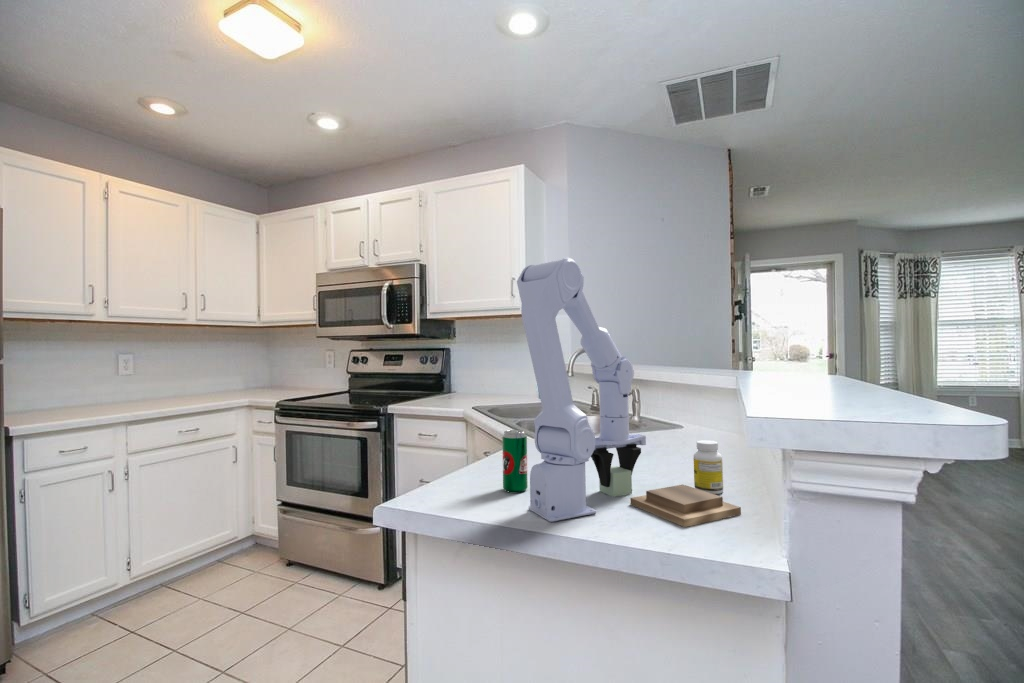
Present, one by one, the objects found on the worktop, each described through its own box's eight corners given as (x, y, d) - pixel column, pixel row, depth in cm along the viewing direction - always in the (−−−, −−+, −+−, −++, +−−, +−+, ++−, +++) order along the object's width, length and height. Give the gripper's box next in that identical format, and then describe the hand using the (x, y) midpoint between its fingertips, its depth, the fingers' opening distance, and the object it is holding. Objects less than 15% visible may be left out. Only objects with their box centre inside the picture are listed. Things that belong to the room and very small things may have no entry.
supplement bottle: (698, 485, 98) (696, 438, 98) (726, 489, 95) (724, 441, 95) (691, 492, 94) (690, 442, 94) (720, 496, 91) (719, 445, 91)
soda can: (525, 494, 94) (524, 433, 94) (500, 493, 95) (499, 433, 95) (529, 487, 99) (528, 429, 99) (505, 486, 100) (505, 429, 100)
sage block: (613, 496, 91) (613, 473, 91) (599, 491, 95) (599, 468, 95) (631, 493, 93) (631, 470, 93) (617, 488, 97) (616, 466, 97)
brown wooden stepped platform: (684, 527, 75) (684, 510, 75) (630, 504, 86) (630, 489, 86) (740, 514, 80) (740, 498, 80) (682, 494, 92) (682, 480, 92)
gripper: (629, 411, 101) (630, 475, 101) (572, 416, 95) (573, 483, 95) (652, 415, 95) (653, 482, 95) (593, 420, 89) (594, 492, 88)
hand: (615, 484), depth 94 cm, fingers closed on sage block, 4 cm apart
